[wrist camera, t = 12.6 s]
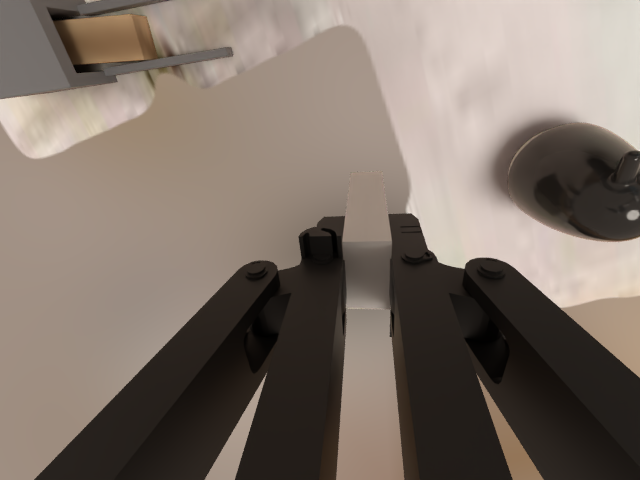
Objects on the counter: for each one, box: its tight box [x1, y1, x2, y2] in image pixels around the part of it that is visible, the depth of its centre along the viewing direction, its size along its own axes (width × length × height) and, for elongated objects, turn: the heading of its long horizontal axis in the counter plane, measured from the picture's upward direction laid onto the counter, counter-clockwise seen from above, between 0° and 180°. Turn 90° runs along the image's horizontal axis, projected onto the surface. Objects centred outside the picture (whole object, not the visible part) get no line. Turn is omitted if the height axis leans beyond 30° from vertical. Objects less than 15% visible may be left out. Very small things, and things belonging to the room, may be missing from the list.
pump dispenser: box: [507, 123, 640, 242], centre depth 30 cm, size 10×10×15 cm
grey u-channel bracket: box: [0, 0, 233, 99], centre depth 32 cm, size 8×25×7 cm, turn 98°
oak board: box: [53, 14, 158, 65], centre depth 35 cm, size 4×14×3 cm, turn 93°
